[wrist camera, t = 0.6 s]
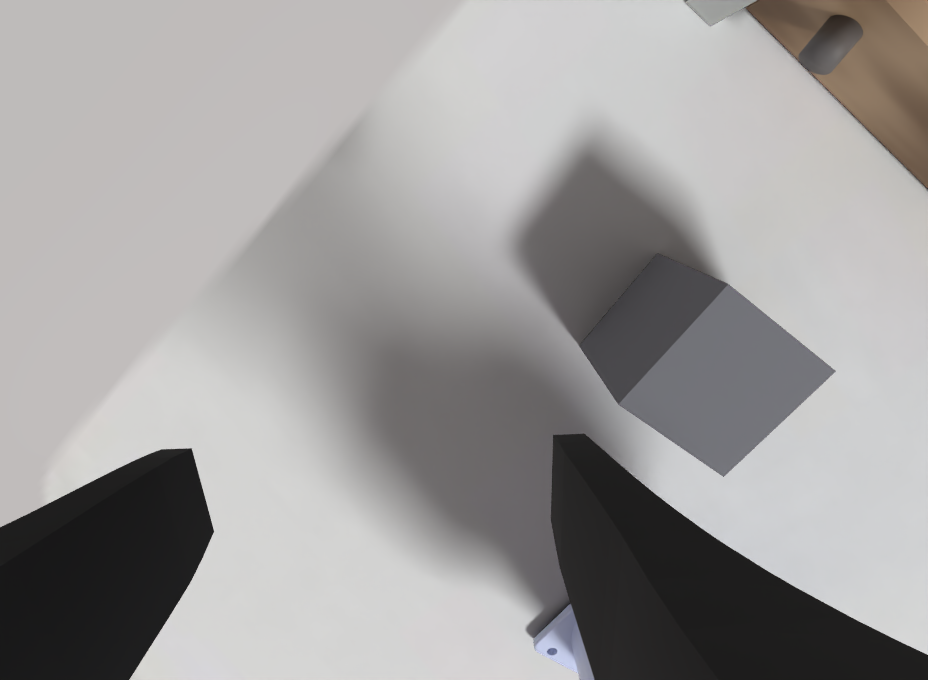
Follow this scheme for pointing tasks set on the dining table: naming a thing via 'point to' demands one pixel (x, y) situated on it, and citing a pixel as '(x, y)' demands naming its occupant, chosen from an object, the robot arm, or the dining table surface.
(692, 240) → the dining table surface
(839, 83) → the door
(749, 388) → the block
